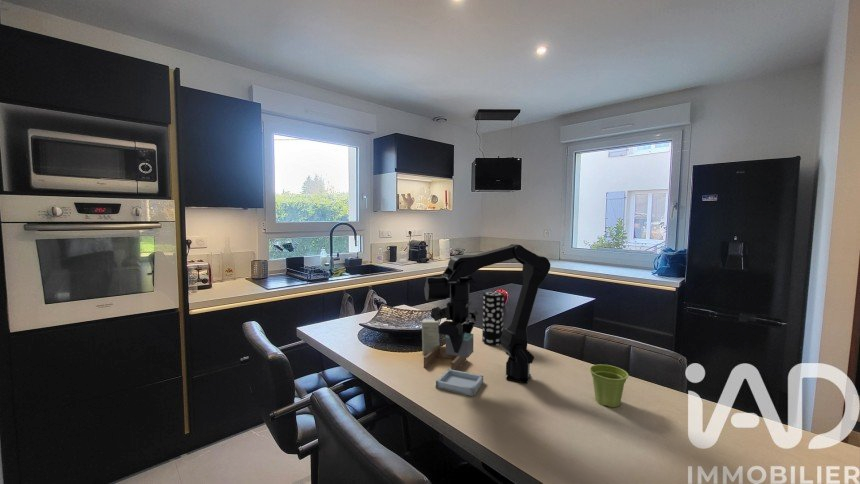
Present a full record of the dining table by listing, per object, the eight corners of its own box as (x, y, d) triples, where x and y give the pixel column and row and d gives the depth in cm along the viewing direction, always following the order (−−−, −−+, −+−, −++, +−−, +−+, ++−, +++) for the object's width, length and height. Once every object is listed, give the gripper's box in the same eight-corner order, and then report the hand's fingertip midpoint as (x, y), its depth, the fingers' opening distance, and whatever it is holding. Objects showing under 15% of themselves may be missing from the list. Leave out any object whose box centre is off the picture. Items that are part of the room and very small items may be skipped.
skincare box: (439, 350, 133) (439, 319, 133) (438, 355, 129) (439, 322, 128) (422, 349, 134) (422, 318, 133) (421, 354, 130) (421, 321, 129)
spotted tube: (478, 339, 145) (479, 292, 144) (496, 337, 148) (497, 290, 147) (488, 346, 138) (488, 296, 136) (506, 344, 140) (507, 295, 139)
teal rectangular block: (473, 351, 106) (473, 333, 106) (467, 357, 102) (467, 339, 101) (452, 348, 109) (451, 330, 109) (445, 353, 105) (445, 335, 104)
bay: (466, 360, 124) (466, 350, 124) (453, 373, 114) (454, 363, 113) (438, 354, 129) (438, 345, 129) (423, 367, 118) (423, 357, 118)
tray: (483, 382, 108) (483, 375, 108) (473, 396, 99) (473, 389, 99) (448, 374, 113) (448, 368, 112) (435, 387, 104) (435, 381, 104)
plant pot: (606, 413, 91) (607, 381, 90) (581, 395, 100) (582, 366, 99) (635, 408, 93) (636, 376, 92) (608, 391, 102) (609, 362, 102)
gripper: (447, 290, 116) (447, 336, 117) (421, 302, 100) (421, 356, 101) (479, 293, 111) (479, 341, 112) (457, 306, 95) (457, 363, 96)
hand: (459, 349), depth 105 cm, fingers closed on teal rectangular block, 5 cm apart
